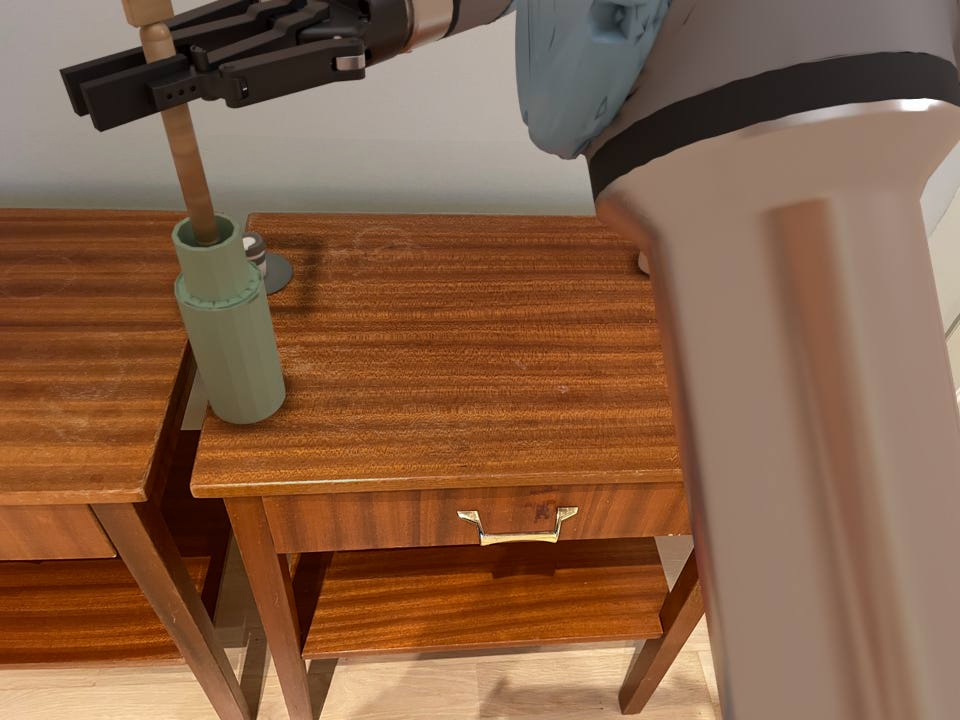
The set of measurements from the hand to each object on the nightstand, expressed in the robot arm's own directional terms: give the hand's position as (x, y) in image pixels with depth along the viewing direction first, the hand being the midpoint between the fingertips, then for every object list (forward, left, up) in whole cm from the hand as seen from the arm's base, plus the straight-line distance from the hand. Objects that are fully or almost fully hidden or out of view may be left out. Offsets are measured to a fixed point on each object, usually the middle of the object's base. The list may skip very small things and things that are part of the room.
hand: (80, 101), depth 43 cm
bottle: (+5, -1, -31) cm, 32 cm away
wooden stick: (+5, -1, -13) cm, 15 cm away
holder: (+45, -28, -31) cm, 62 cm away
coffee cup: (+19, +10, -31) cm, 38 cm away
